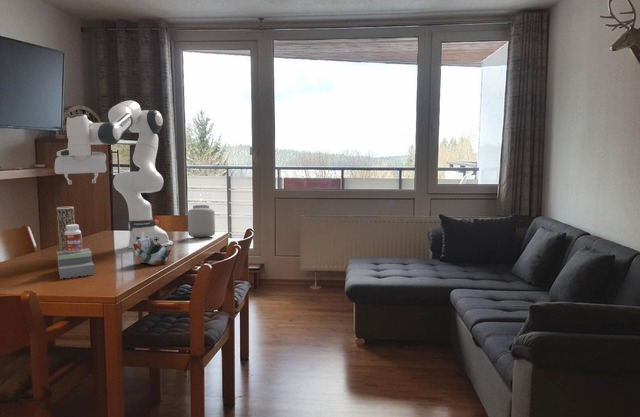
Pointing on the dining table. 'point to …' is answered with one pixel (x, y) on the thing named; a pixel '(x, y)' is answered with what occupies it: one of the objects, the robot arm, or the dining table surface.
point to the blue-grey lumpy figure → (150, 251)
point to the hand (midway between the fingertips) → (82, 183)
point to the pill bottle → (73, 239)
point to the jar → (201, 221)
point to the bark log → (64, 222)
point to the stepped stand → (75, 263)
